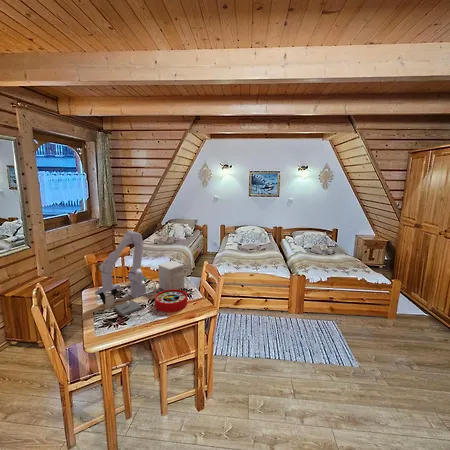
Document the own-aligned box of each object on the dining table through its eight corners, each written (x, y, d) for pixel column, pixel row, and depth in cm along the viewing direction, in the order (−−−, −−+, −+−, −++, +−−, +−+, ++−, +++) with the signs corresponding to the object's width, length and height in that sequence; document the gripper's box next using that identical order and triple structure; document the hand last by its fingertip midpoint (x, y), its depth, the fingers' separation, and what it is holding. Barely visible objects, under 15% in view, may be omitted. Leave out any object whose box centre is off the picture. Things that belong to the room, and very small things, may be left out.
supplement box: (184, 287, 190) (184, 264, 186) (170, 293, 180) (169, 269, 177) (173, 282, 198) (173, 260, 195) (159, 287, 188) (158, 264, 185)
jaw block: (111, 301, 166) (110, 293, 165) (114, 304, 163) (113, 295, 162) (103, 304, 163) (102, 295, 162) (106, 307, 160) (105, 298, 158)
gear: (131, 285, 188) (131, 272, 194) (130, 288, 192) (131, 276, 198) (147, 285, 193) (147, 272, 198) (146, 288, 197) (146, 276, 202)
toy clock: (151, 293, 167) (180, 287, 176) (151, 301, 168) (180, 295, 178) (160, 306, 150) (192, 298, 160) (160, 315, 151) (192, 307, 161)
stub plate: (132, 302, 166) (132, 295, 165) (141, 309, 158) (141, 301, 157) (114, 308, 157) (113, 301, 157) (122, 316, 149) (122, 308, 148)
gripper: (116, 276, 168) (117, 296, 171) (92, 283, 158) (94, 303, 160) (120, 279, 163) (122, 299, 166) (96, 286, 153) (98, 307, 156)
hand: (108, 302), depth 163 cm, fingers closed on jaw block, 5 cm apart
